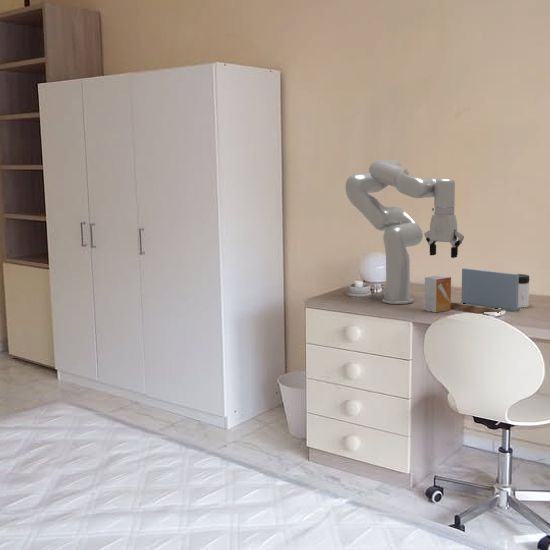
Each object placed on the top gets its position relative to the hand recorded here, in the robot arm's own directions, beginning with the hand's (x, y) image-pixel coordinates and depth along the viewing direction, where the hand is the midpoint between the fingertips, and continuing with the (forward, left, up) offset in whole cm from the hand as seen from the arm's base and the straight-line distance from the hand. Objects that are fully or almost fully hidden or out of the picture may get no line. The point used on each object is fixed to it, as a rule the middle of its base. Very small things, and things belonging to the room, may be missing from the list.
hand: (443, 256), depth 274 cm
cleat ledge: (+10, +4, -21) cm, 23 cm away
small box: (-1, -2, -21) cm, 21 cm away
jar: (+17, +25, -21) cm, 37 cm away
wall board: (+10, +16, -21) cm, 28 cm away
